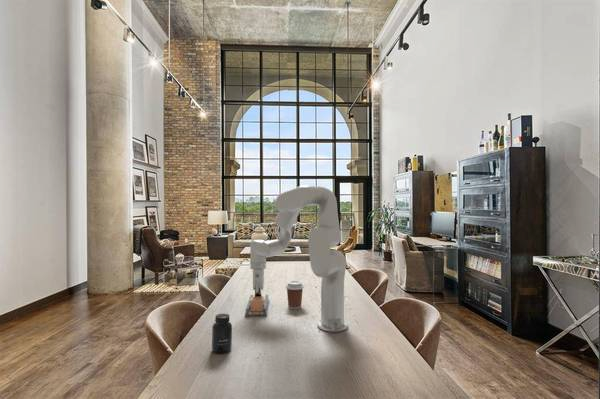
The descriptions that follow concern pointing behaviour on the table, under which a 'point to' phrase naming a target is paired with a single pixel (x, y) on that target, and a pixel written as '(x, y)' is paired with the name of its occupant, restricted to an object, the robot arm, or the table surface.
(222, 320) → the supplement bottle
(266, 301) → the steel chute
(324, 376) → the table surface
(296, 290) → the coffee cup
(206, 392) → the table surface
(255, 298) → the block
